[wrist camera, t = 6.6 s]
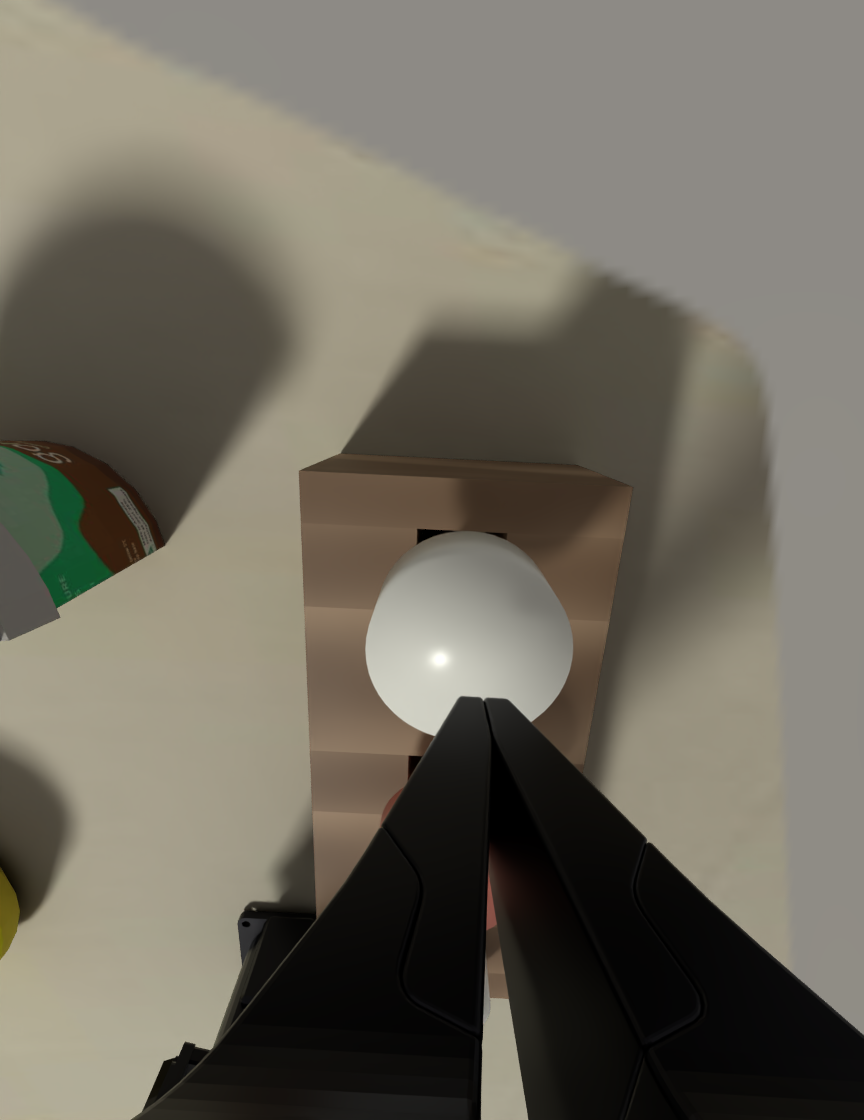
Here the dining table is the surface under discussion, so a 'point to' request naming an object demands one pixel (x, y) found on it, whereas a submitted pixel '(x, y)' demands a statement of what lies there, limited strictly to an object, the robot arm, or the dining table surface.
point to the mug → (7, 914)
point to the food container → (62, 530)
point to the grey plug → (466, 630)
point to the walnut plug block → (352, 592)
